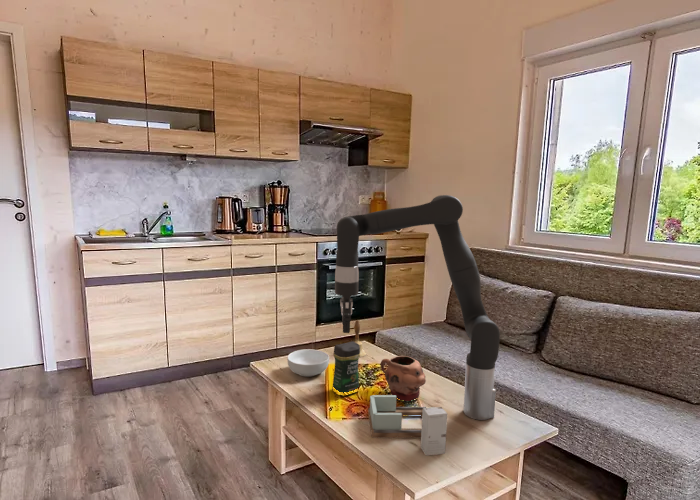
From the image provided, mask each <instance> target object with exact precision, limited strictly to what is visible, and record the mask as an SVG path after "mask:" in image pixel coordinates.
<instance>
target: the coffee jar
mask: <svg viewBox="0 0 700 500" xmlns="http://www.w3.org/2000/svg"><path fill="white" fill-rule="evenodd" d="M359 356H360V346H359V344H357V343H355V341H354V340H351V341H349V342H346V343H345V342H344V343H340V344H335V345H334V347H333V357H334V371H333V378H332V379H333V380H332V388H333V387H334V388H335V389H336V390H338V391H339V392H343V393H344V392H349V391H352V390H355V389H357V388H358V387H359V388H360V379H359V378H360V377H359V358H360V357H359Z"/></svg>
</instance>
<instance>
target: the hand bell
mask: <svg viewBox="0 0 700 500" xmlns="http://www.w3.org/2000/svg"><path fill="white" fill-rule="evenodd" d="M353 327H354V328H353V329H354V335H355V337H354V338H355V340H354V342H355V343H357V344H359V346H360V356H359V358H363V357H365V356H366V355H367V353H366V351H365V350H364V349H363V343H362V341H361V340H360V338H359V336H360V330H361V324H360V320H359V319H357V320H356V319H355V323H354V325H353Z"/></svg>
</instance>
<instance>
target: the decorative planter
mask: <svg viewBox="0 0 700 500" xmlns="http://www.w3.org/2000/svg"><path fill="white" fill-rule="evenodd" d="M385 365H387V367H386V369H385ZM380 370H381V371H382V373H383V374H384V378H385V380H386V382H387V385H388V387H389V392H390V395H391V394H392V395H396V398H398V399H400V400H404V401H411V400H414V399H416V398H418V399H419V397H420V393H421V392H420V391H421V390H420V388H421V387H422V386H424V385H425V384H426V382H427V380H426V375H425V372H424V369H423V367H422V365H421V363H420V362H419V361H418V360H417V359H415V358H413V357H411V356H406V355H398V356H393V357H392V358H383V359H381V361H380ZM400 400H399V401H400Z"/></svg>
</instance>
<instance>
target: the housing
mask: <svg viewBox="0 0 700 500" xmlns="http://www.w3.org/2000/svg"><path fill="white" fill-rule="evenodd" d="M396 407H397V399H396V395H391V394H386V395H385V394H382V395H381V394H378V395H377V394H375V395H374V394H373V395H370V396H369V408H370V414H371V420H372V426H373V429H375V430H401V428H402V423H403V422H402V421H403V420H402V419H403V416H402V413H377V411H396Z"/></svg>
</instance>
